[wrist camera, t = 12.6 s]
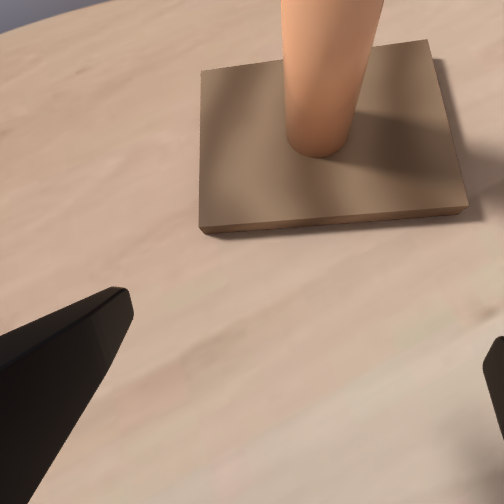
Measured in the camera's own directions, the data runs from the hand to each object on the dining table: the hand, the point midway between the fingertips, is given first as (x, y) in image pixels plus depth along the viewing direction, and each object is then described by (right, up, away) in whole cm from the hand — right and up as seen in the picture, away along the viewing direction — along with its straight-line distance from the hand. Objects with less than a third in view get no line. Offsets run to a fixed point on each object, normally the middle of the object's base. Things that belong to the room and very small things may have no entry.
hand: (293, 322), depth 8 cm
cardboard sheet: (+4, +10, +17) cm, 20 cm away
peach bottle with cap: (+4, +11, +15) cm, 19 cm away
